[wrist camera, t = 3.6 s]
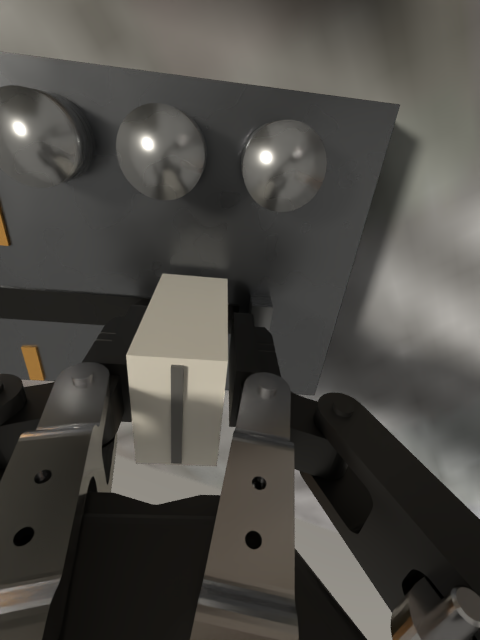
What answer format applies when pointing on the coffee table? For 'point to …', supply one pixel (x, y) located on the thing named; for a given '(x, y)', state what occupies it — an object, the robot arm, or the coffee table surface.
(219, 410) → the fader tab
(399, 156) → the coffee table surface
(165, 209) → the console
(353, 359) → the coffee table surface
